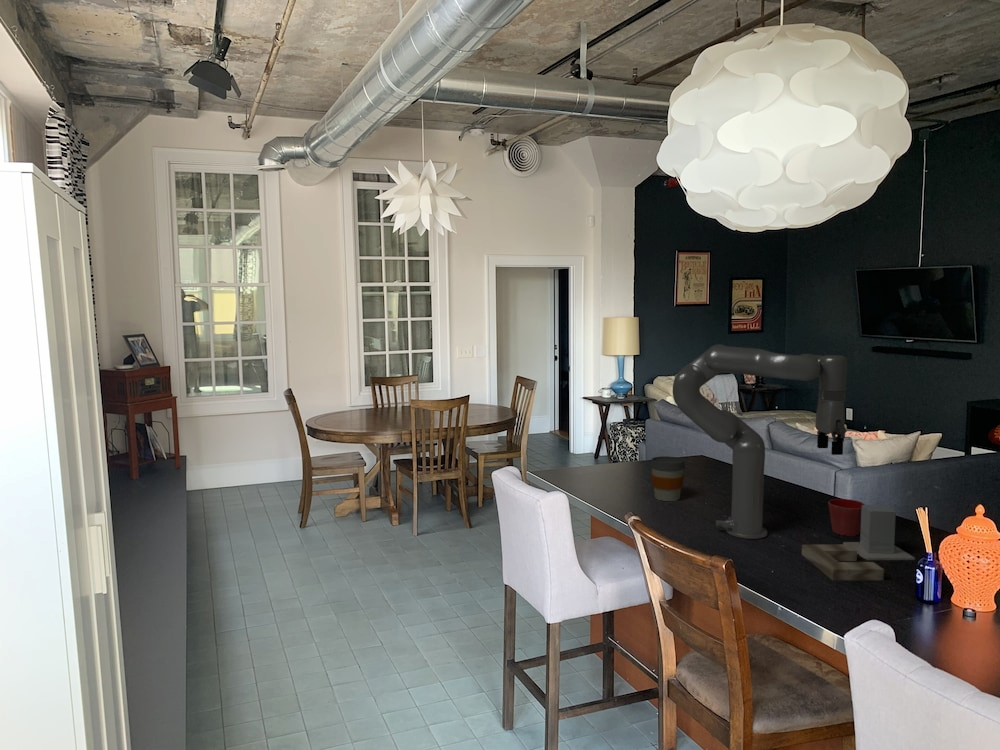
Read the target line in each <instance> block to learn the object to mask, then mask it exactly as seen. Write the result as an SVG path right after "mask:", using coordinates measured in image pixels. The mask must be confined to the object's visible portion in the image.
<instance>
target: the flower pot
mask: <svg viewBox="0 0 1000 750" xmlns="http://www.w3.org/2000/svg"><path fill="white" fill-rule="evenodd" d="M827 503H828V511H829V517H830V523H831V529H832V532H833V533H834V532H835V533H834V534H836V533H837V535H839V534H840V535H839V536H845V535H846V536H845V537H856V535H857V536H860V534H861V510H862V505H866V504H865V503H864V502H862V501H859V500H854V499H848V498H835V499H830V500H828V502H827Z"/></svg>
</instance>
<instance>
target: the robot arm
mask: <svg viewBox="0 0 1000 750" xmlns="http://www.w3.org/2000/svg"><path fill="white" fill-rule="evenodd" d="M847 371H848V359H847V358H846V357H845V356H843V355H836V354H835V355H833V354H830V355H829V354H827V355H817V354H811V353H802V354H799V355H798V354H797V355H795V354H785V353H777V352H771V351H769V350H767V349H763V348H756V347H755V348H753V347H741V346H728V345H725V344H719V343H717V344H714V345H712V346H710V347H709V348H708V349H707V350H706V351H704V352H703V353H702V354H700V355H699V356H698V357H696V358H695V359H693V361H691V362H690V363H688V364H687V365H685V366H684V367H683V368H681V369H680V370H678V372H677V374H676V375H675V377H674V380H673V384H672V396H673V397H672V398H673V401H674V403H675V405H676V406H677V408H678V409H679V410H680V412H681V413H682V414H684V415H685V416H686V417H687V418H689V419H690V420H691V422H693V423H694V424H695V425H697V426H698V428H700V429H701V430H702V431H703V432H704V433H705V434H706V435H708V436H709V437H710V438H711V439H712V440H713V441H715V442H717V443H721V444H722V443H723V444H725V445H726V446H727V447H729V448H730V449H731V450H732V473H731V474H732V475H731V476H732V477H731V478H732V479H731V480H732V481H731V515H730V516H728V518H727V519H725V520H723V519H722V520H721V519H719V520H718V519H717V520H715V525H716V527H722V528H723V529H725V532H726V533H727V534H728V535H730V536H732V537H736V538H740V539H748V540H749V539H750V540H754V539H755V540H756V539H762V538H765V537H767V536H768V530H767V529H766V528H765V527H763V517H764V516H763V513H764V511H763V510H764V487H765V486H764V485H765V484H764V483H765V482H764V481H765V461H766V460H765V459H766V447H765V446H766V445H765V441H764V439H763V437H762V436H761V435H760V434H759V432H757V431H755V430H754V429H753V428H752V427H751V426H750V425H748V424H747V423H745V421H743V420H742V419H741V418H740V417H738V416H737V415H736V414H734V413H733V412H731V411H730V410H726V409H720V408H719V407H717V406H716V405H715V404H714V403H712V401H711V400H710V399H708V398H706V397H705V396H704V395H703V394H702V393H701V390H700V389H701V388H702V386H704V385H706V383H708V382H709V381H710V380H712V379H714V378H715V377H716V376H718V375H719V374H720V373H724V374H725V373H726V374H736V375H745V376H755V377H762V378H774V379H781V380H792V381H793V380H794V381H802V382H803V381H806V382H807V381H812V380H814V379H816V378H817V377H818V378H819V379H818V396H817V397H818V399H817V400H818V401H817V405H816V412H815V413H816V414H815V415H816V416H815V429H816V430H817V432H816V435H817V443H816V447H817V448H818V449H828V448H829V435H830V434H831V438H832V440H833V441H831V450H830V451H831V453H830V454H831V455H833V456H843V455H844V442H845V438H846V433H847V428H846V427H845V424H846V422H845V421H846V420H845V419H846V417H845V416H846V414H845V402H846V399H847V398H846V394H847V393H846V392H847Z"/></svg>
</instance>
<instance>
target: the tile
mask: <svg viewBox="0 0 1000 750" xmlns="http://www.w3.org/2000/svg"><path fill="white" fill-rule="evenodd" d="M842 544H848V545H850V546H851V547H852V548H854V549H855V550H857V555H858V554H859V555H858V556H860V557H861V558H863V560H865V559H866V560H865V561H915V560H916V557H915V556H913V555H911V554H910V553H908V552H906V551H904V550H903V549H901V548H900V547H898V546H897V545H895V544H894V553H893V554H887V553H869V552H867V551H866V550H865V549H864V548H863V547H862V546H861V545H860V541H843V543H842Z"/></svg>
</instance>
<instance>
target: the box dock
mask: <svg viewBox="0 0 1000 750" xmlns="http://www.w3.org/2000/svg"><path fill="white" fill-rule="evenodd" d="M801 555H802V556H803V557H804V558H805V559H806V560H808V561H809V562H810V563H811V564H812V565H813V566H815V567H816V568H817V569H818V570H819V571H821V572H822V573H823V574H824V575H826V576H827V577H828V578H829V579H830V580H831V581H833V582H834V581H884V576H885V575H884V573H885V569H884V568H883V567H881V566H880V565H879V564H878V563H875V562H874V561H858V559H857V558H858V554H857V550H855V549H854V548H852V547H851V546H850V545H848V544H843V543H842V544H840V543H839V544H835V543H834V544H831V543H830V544H801Z"/></svg>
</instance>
